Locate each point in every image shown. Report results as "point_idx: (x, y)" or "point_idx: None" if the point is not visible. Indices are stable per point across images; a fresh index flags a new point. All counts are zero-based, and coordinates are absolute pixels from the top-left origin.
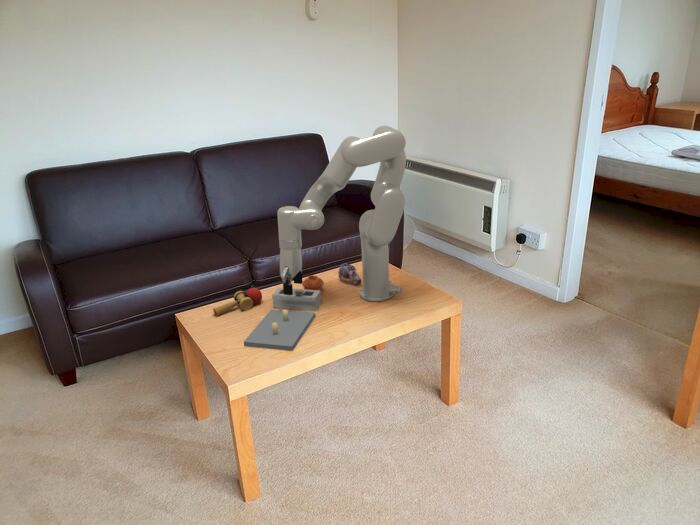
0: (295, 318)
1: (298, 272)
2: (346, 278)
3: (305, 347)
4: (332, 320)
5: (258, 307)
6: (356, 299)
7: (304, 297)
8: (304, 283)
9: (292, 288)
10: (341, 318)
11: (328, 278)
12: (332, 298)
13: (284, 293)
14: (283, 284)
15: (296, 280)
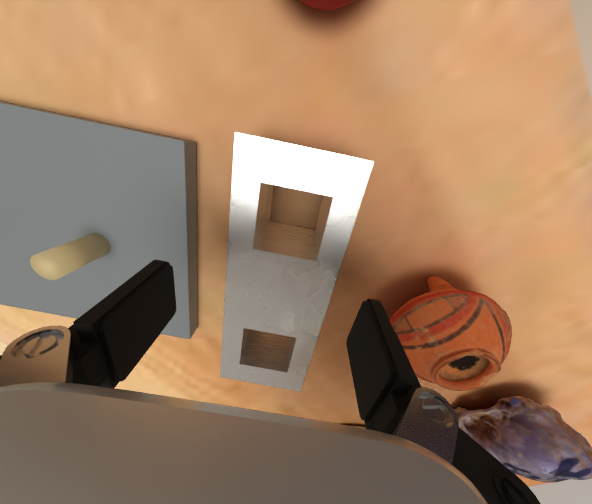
0: (124, 279)
1: (379, 426)
2: (480, 417)
3: (3, 314)
4: (183, 368)
5: (259, 17)
6: (323, 416)
7: (223, 337)
8: (431, 314)
9: (141, 350)
10: (199, 386)
11: (545, 350)
12: (339, 366)
13: (152, 267)
14: (40, 336)
15: (361, 333)
